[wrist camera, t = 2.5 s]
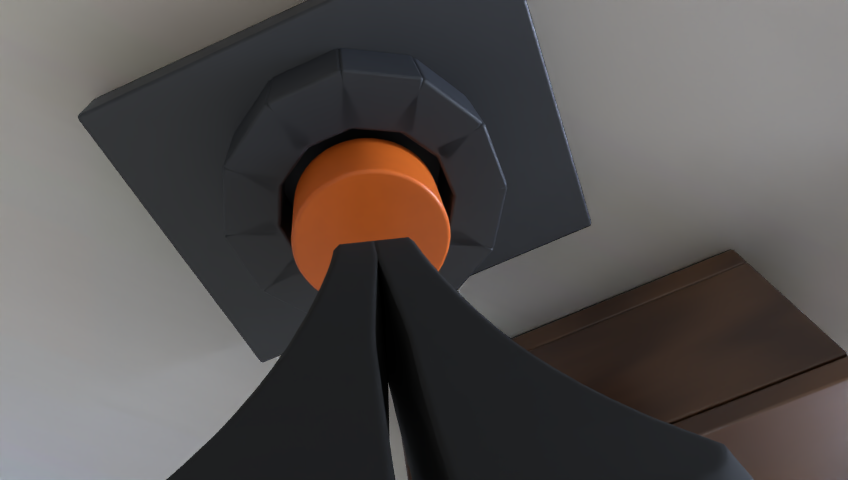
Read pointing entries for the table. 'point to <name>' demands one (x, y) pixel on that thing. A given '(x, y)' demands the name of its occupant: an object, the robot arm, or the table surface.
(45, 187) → the table surface
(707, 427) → the lid
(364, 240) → the release button
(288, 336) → the panel
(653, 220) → the table surface
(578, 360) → the compartment
